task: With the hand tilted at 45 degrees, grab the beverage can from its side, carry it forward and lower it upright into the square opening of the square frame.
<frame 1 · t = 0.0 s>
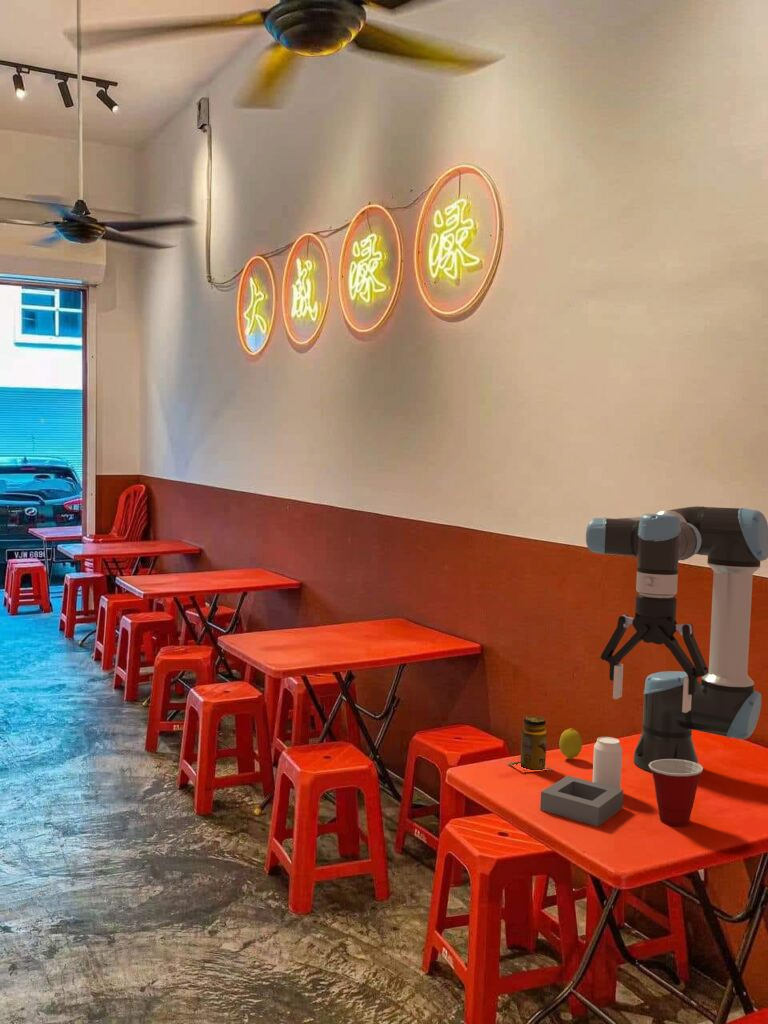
hand: (651, 704, 168), 28 cm above the table, tool pointing down, fingers open, 13 cm apart
condiment: (529, 768, 213), on the table
lemon: (569, 760, 219), on the table
plastic cup: (672, 821, 183), on the table
beverage can: (606, 792, 198), on the table
square frame: (581, 809, 187), on the table
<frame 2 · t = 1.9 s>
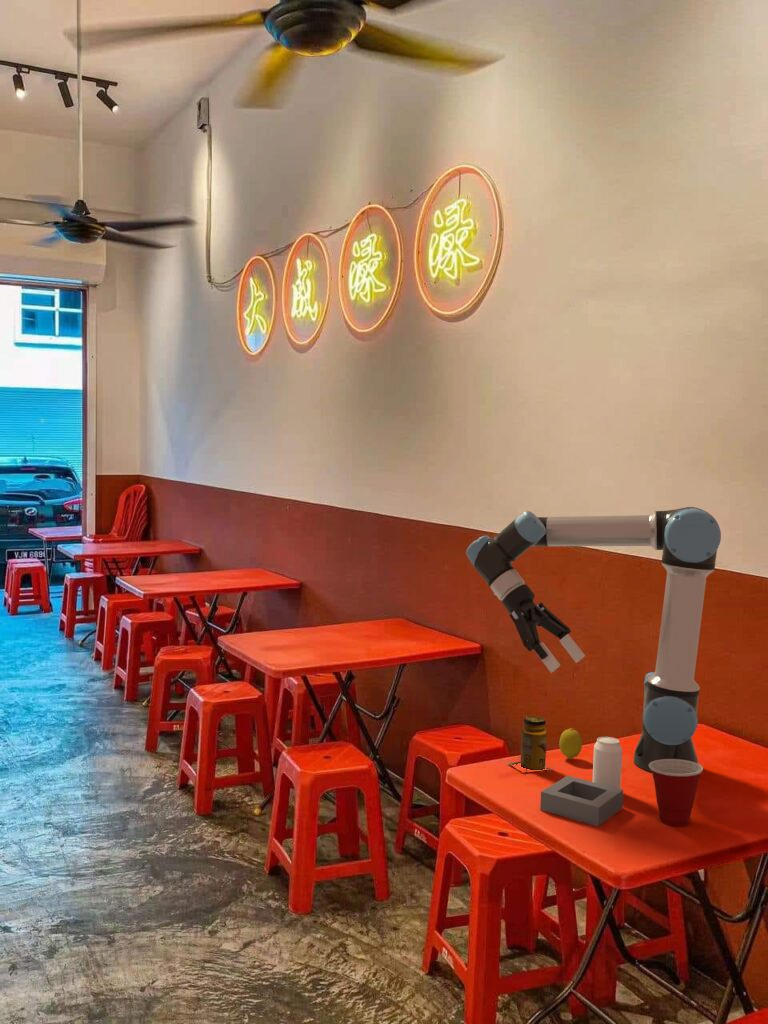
hand: (568, 664, 202), 28 cm above the table, tool tilted 45°, fingers open, 13 cm apart
nothing on the table moved.
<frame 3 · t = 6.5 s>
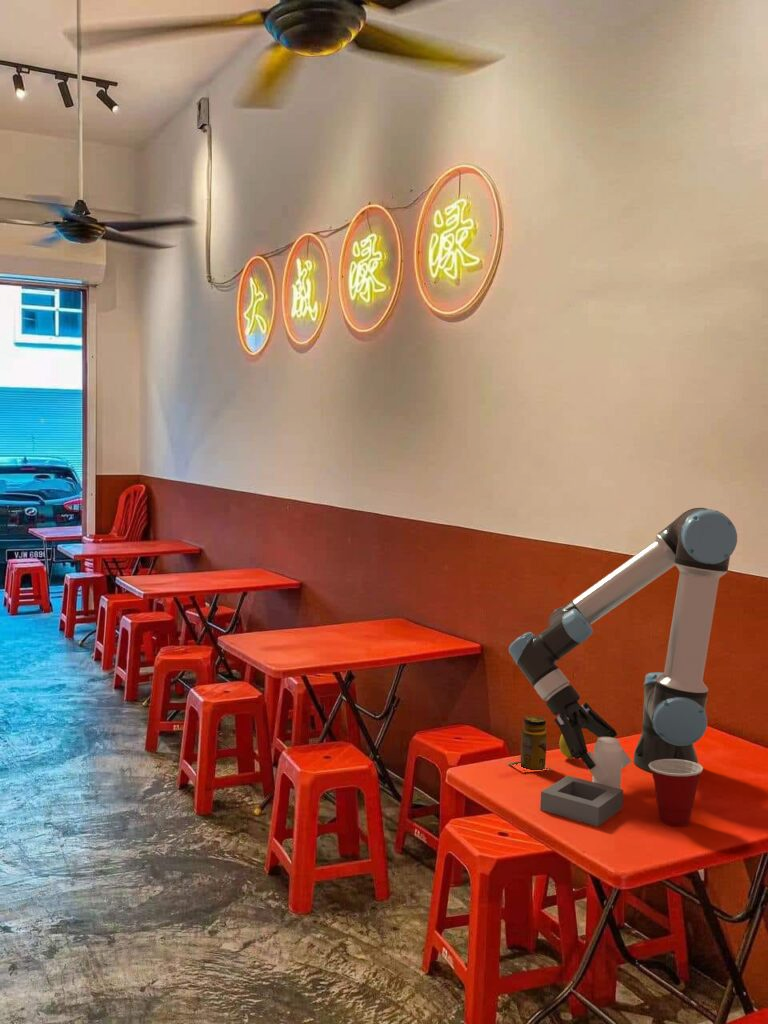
hand: (616, 772, 196), 5 cm above the table, tool tilted 45°, fingers open, 12 cm apart
nothing on the table moved.
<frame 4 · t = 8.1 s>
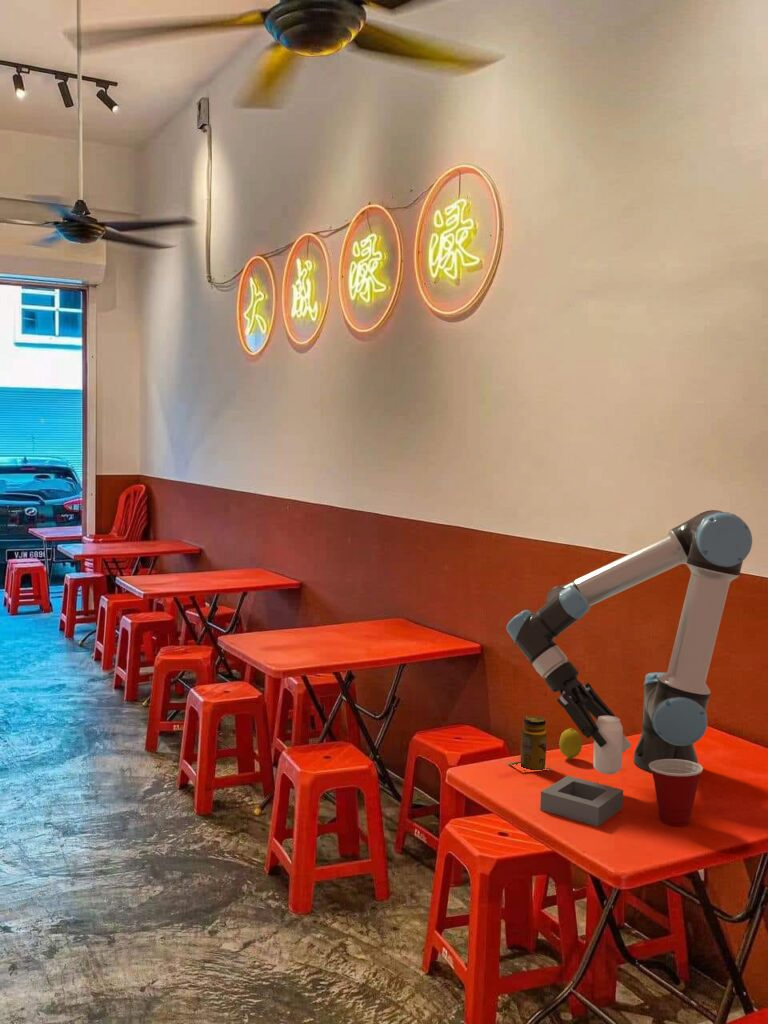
hand: (621, 753, 195), 10 cm above the table, tool tilted 45°, fingers closed on beverage can, 6 cm apart
beverage can: (607, 771, 197), point 5 cm above the table, touching gripper
everything else where it was.
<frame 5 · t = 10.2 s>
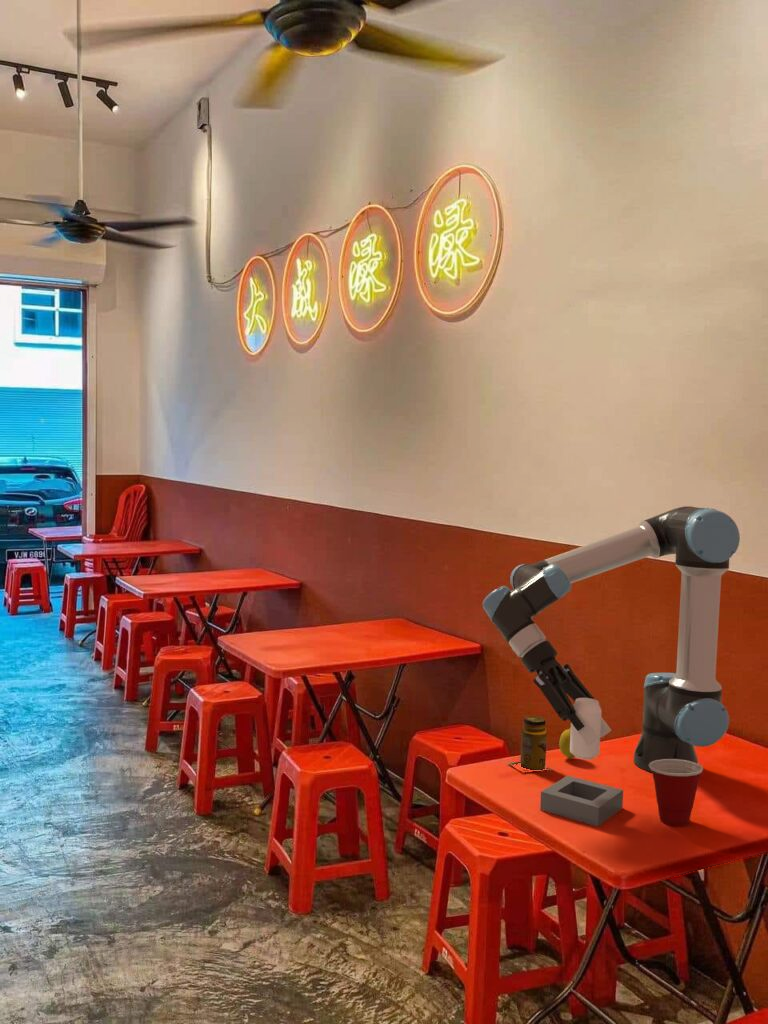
hand: (599, 737, 184), 16 cm above the table, tool tilted 45°, fingers closed on beverage can, 6 cm apart
beverage can: (584, 756, 187), point 11 cm above the table, touching gripper
everything else where it was.
when the fingers open (6 cm above the table, at t = 12.8 s): beverage can drops 1 cm, resting in square frame.
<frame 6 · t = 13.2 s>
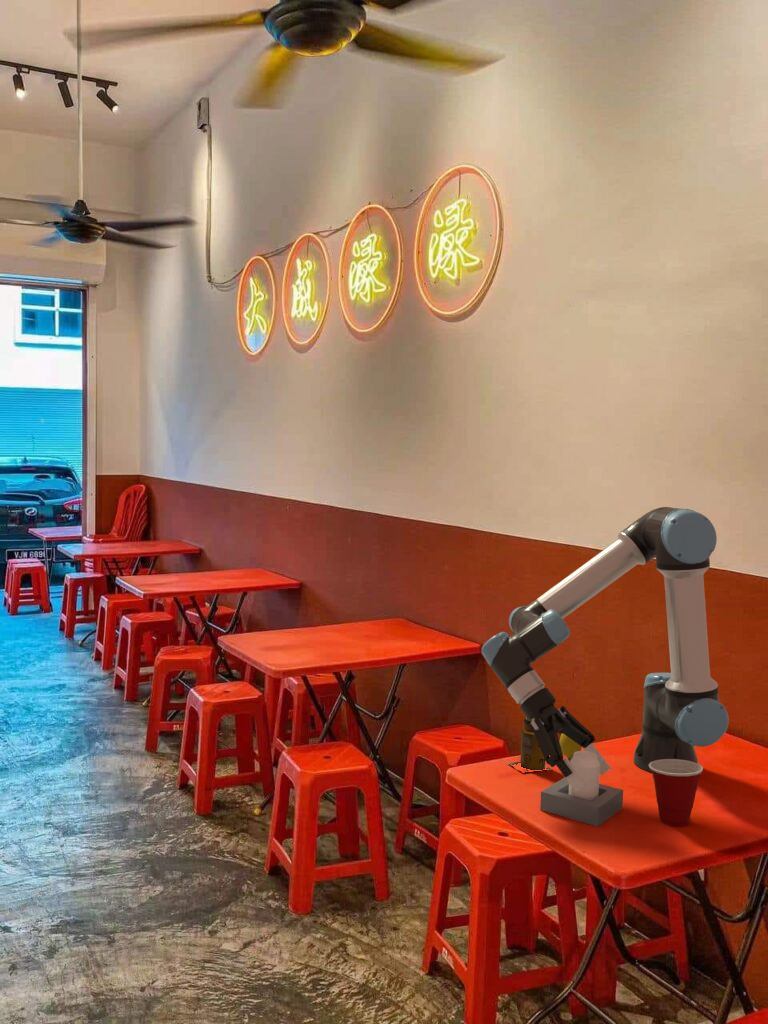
hand: (594, 780, 186), 7 cm above the table, tool tilted 45°, fingers open, 12 cm apart
beverage can: (582, 810, 187), resting in square frame
everything else where it was.
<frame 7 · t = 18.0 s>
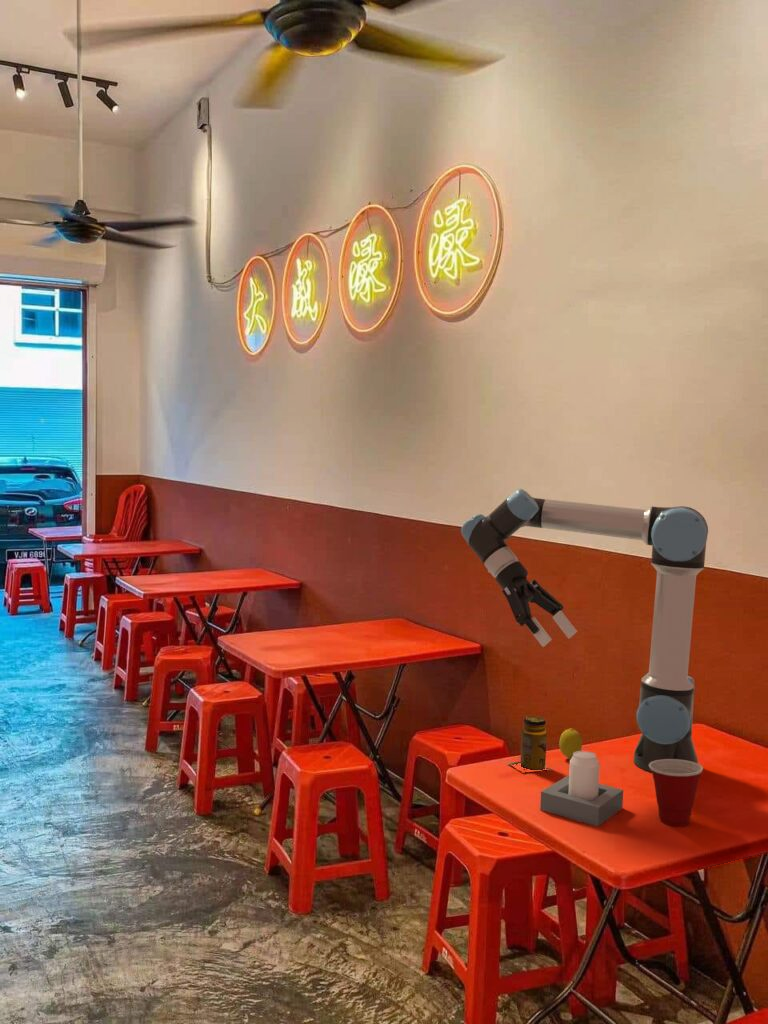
hand: (560, 639, 206), 33 cm above the table, tool tilted 45°, fingers open, 13 cm apart
nothing on the table moved.
at the end: beverage can 0.3 cm off-centre on the square frame, point 0.0 cm above the square frame's base; beverage can tilted 0°; the gripper is holding nothing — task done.
